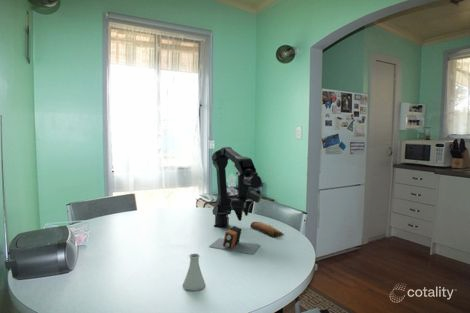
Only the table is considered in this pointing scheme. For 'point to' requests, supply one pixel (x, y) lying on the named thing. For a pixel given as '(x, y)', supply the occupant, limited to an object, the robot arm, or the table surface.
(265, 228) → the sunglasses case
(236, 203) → the robot arm
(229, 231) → the battery
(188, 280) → the flask
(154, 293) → the table surface
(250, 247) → the rubber mat
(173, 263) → the table surface
